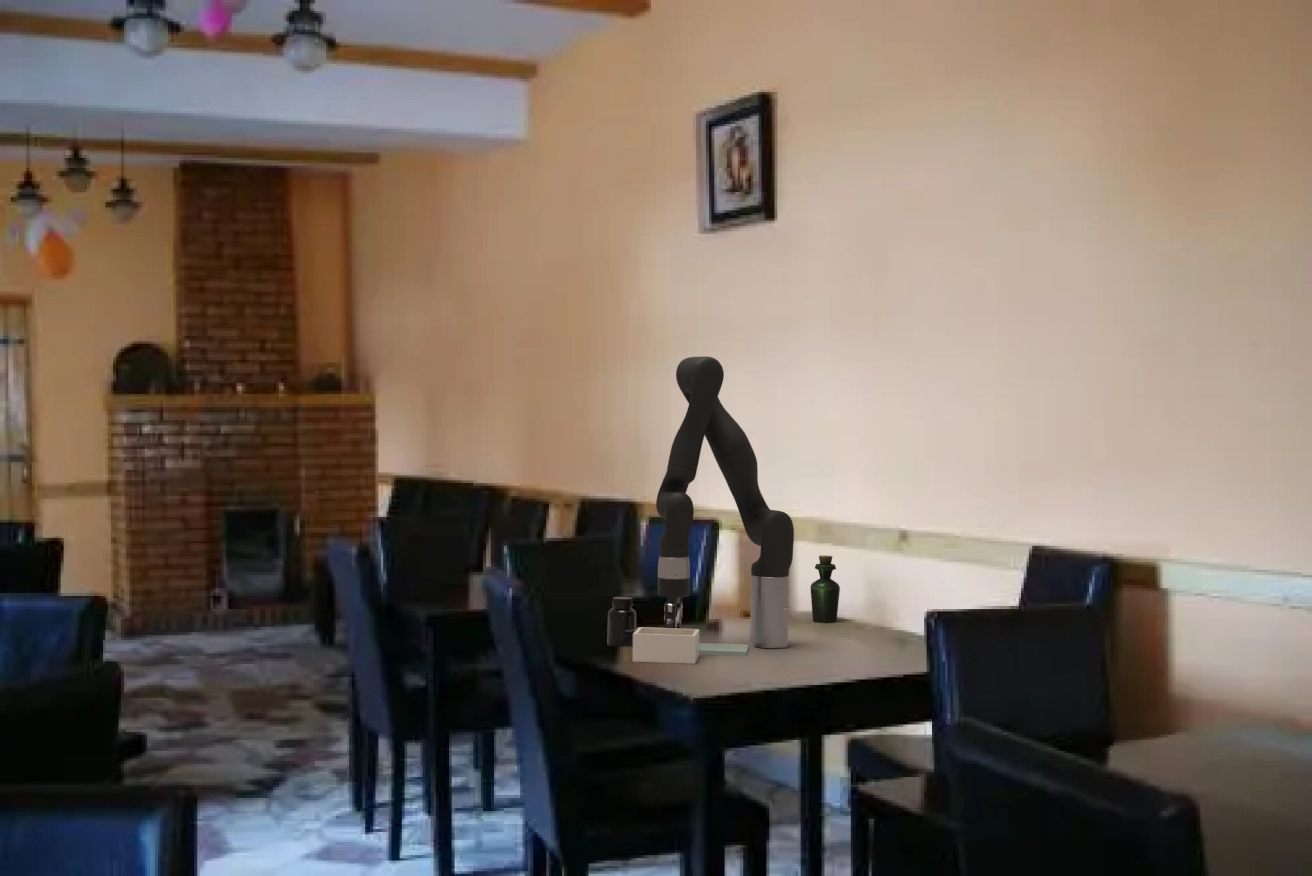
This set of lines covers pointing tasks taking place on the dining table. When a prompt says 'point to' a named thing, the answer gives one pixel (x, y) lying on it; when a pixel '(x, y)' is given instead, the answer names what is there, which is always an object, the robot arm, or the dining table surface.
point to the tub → (666, 645)
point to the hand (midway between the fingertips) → (672, 644)
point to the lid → (723, 649)
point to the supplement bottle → (621, 622)
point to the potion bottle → (825, 592)
